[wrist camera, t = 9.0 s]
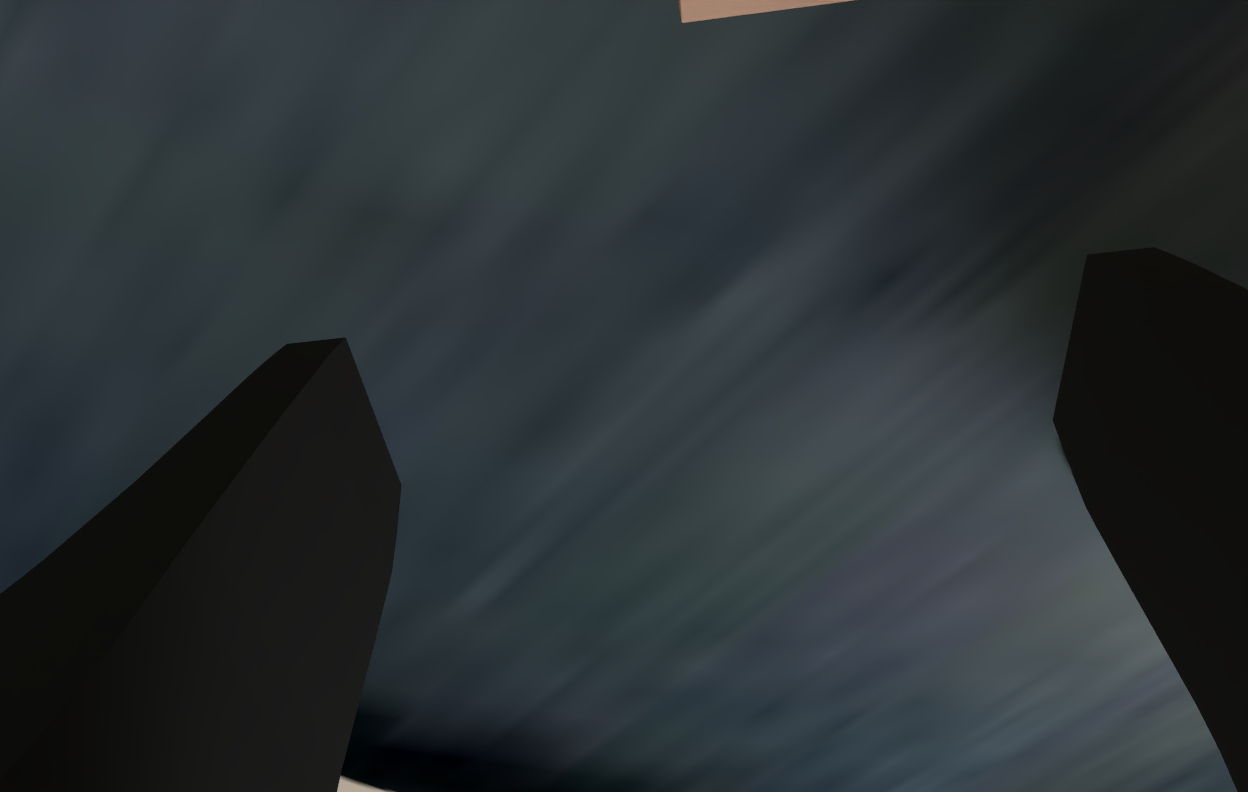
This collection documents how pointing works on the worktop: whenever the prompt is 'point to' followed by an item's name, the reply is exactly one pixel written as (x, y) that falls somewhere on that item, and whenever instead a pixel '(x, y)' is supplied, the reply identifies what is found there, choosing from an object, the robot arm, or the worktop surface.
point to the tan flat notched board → (738, 7)
